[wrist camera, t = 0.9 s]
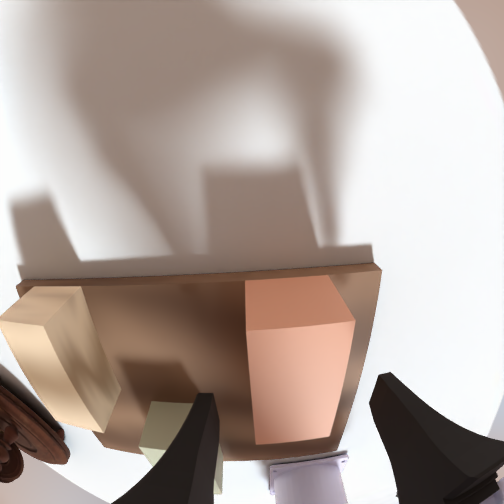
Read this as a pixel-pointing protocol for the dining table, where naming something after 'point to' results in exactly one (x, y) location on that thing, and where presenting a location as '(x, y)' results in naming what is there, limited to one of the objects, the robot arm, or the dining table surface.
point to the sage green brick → (170, 434)
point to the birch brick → (62, 355)
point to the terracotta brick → (296, 356)
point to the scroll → (26, 438)
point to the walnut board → (205, 349)
